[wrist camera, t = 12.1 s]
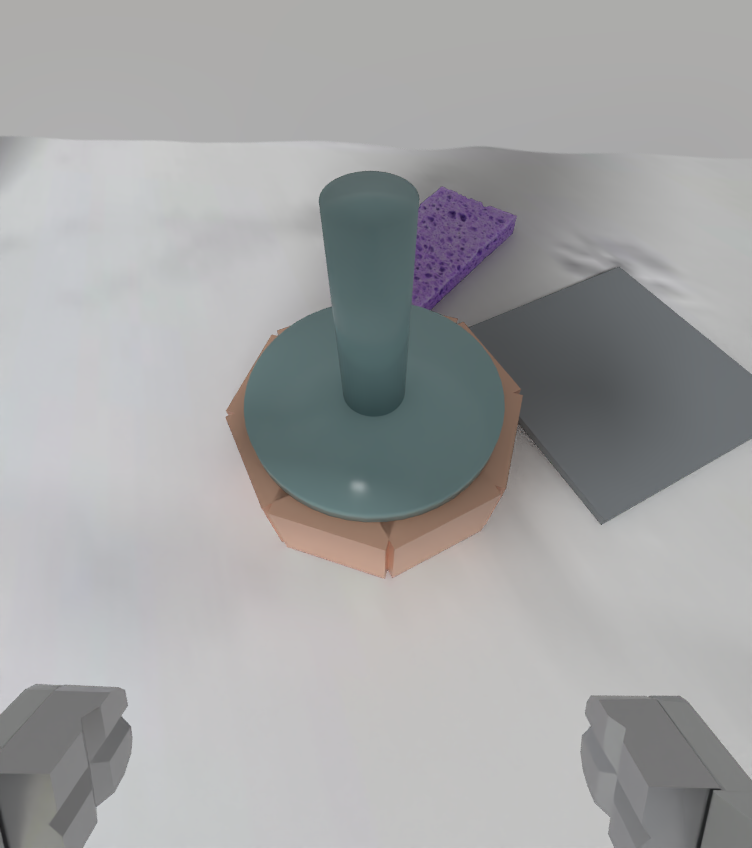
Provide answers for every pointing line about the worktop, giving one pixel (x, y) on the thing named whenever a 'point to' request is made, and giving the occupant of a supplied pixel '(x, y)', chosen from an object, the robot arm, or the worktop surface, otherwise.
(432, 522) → the bowl
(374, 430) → the lid
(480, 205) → the sponges
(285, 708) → the worktop surface
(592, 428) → the mat
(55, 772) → the robot arm
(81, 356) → the worktop surface
